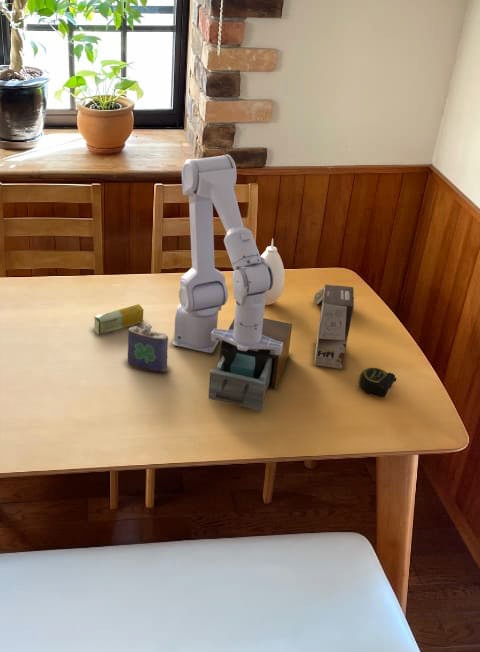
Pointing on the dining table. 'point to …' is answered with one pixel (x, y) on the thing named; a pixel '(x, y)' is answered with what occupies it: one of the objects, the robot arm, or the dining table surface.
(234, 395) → the drawer
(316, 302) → the fossilized seashell
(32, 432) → the dining table surface
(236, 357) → the block
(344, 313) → the coffee box
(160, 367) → the flask
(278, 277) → the sauce bottle
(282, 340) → the cabinet
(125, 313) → the medication box
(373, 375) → the tape measure
